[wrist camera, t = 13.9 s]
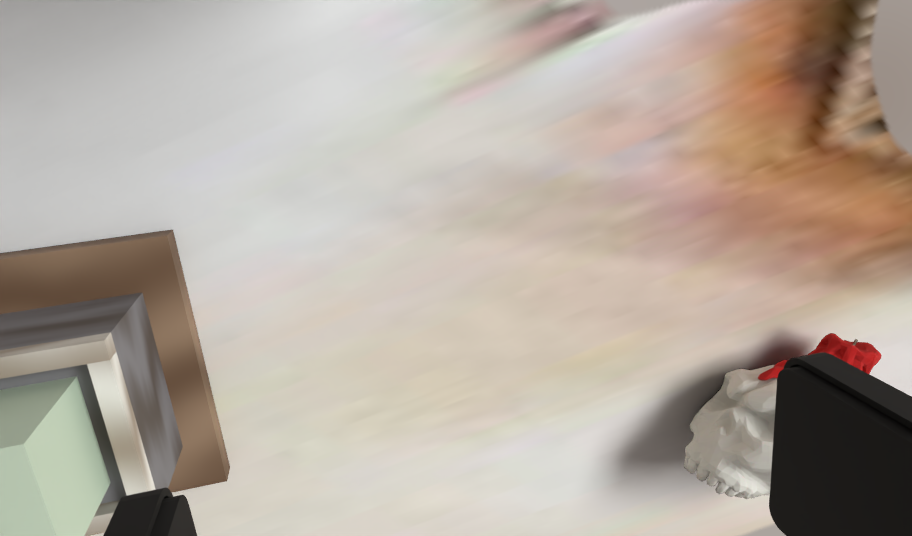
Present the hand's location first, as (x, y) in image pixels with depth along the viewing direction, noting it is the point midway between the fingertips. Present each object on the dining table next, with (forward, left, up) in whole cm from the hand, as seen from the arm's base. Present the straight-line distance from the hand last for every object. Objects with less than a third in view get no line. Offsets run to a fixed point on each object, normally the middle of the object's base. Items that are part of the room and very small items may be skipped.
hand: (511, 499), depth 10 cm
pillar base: (+9, -18, -30) cm, 36 cm away
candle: (+20, +28, -31) cm, 46 cm away
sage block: (+9, -18, -23) cm, 30 cm away
